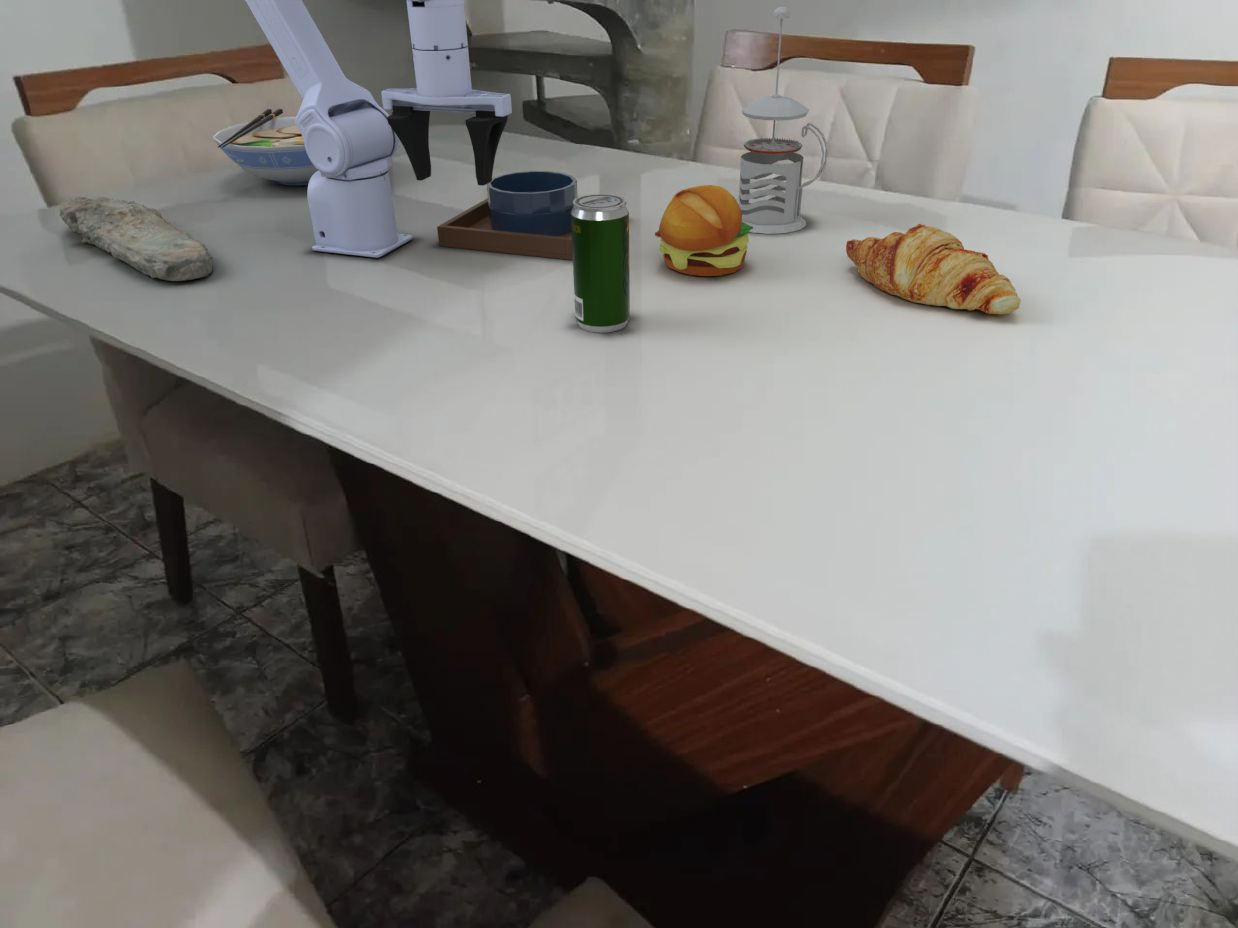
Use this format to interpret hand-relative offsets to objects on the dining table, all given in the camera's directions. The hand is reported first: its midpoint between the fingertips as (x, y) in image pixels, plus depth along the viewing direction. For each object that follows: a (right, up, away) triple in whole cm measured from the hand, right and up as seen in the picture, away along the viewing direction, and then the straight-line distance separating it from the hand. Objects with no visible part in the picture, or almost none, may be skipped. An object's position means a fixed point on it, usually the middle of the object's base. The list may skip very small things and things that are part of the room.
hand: (454, 180), depth 103 cm
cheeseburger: (+28, -9, +2) cm, 29 cm away
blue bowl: (+8, -1, +15) cm, 17 cm away
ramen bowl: (-30, +12, +39) cm, 51 cm away
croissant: (+50, -14, -6) cm, 52 cm away
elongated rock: (-41, -5, +11) cm, 43 cm away
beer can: (+17, -18, -11) cm, 27 cm away
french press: (+38, -1, +16) cm, 42 cm away
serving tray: (+7, -2, +14) cm, 16 cm away
